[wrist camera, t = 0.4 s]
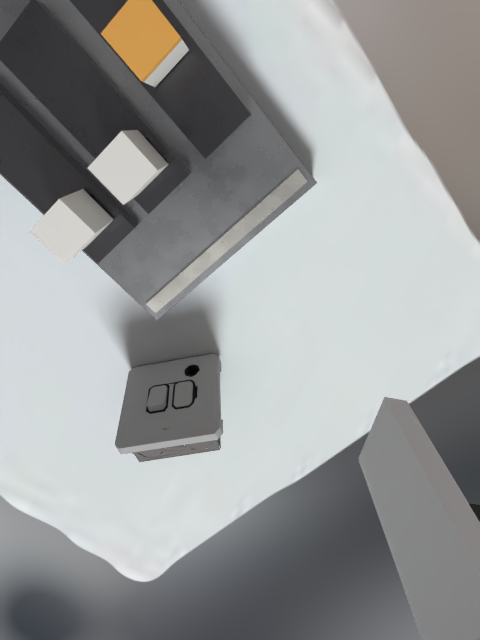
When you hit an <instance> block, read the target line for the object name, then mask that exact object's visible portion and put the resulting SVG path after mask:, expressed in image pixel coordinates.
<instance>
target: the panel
mask: <svg viewBox="0 0 480 640" xmlns="http://www.w3.org/2000/svg"><path fill="white" fill-rule="evenodd" d="M127 1H128V0H0V174H1V175H2V176H3V177H4V178H5V179H6V180H7V181H8V182H9V183H10V184H11V185H12V186H13V187H14V188H16V189H17V190H18V191H19V192H20V193H21V194H22V195H23V196H24V197H25V198H26V199H27V200H28V201H29V202H31V203H32V204H33V205H34V206H35V207H36V208H37V209H38V210H39V211H40V212H41V213H42V214H43V215H45V214H46V212H47V211H48V210H49V209H50V208H51V207H52V206H53V205H54V204H55V203H56V202H57V201H58V199H60V198H62V197H64V196H67V195H69V194H72V193H74V192H77V191H79V190H81V189H84V190H85V191H86V192H87V193H88V194H89V195H90V196H91V197H92V198H93V199H94V200H95V201H96V202H97V203H98V204H99V205H100V206H101V207H102V208H103V209H104V210H105V211H106V212H107V213H108V214H109V215H110V216H111V217H112V218H113V219H114V220H113V221H112V222H111V223H110V224H109V225H108V226H107V227H106V228H105V229H104V230H103V231H102V232H101V233H100V234H99V235H98V236H97V237H96V238H95V239H94V240H93V241H92V242H91V243H90V244H89V245H88V246H87V247H86V248H84V249H83V250H82V251H83V252H84V253H85V254H86V255H87V256H89V257H90V258H91V259H92V260H93V261H94V262H95V263H96V264H97V265H98V266H99V267H100V268H101V269H103V270H104V271H105V272H106V273H107V274H108V275H109V276H110V277H111V278H112V279H113V280H114V281H115V282H116V283H118V284H119V285H120V286H121V287H122V288H123V289H124V290H125V291H126V292H127V293H128V294H129V295H130V296H131V297H133V298H134V299H135V300H136V301H137V302H138V303H139V304H140V305H141V306H142V307H143V308H144V309H145V310H147V311H148V312H149V313H150V314H151V315H152V316H153V317H154V318H155V319H156V320H158V319H159V318H160V317H161V316H163V315H164V314H165V313H166V312H167V311H168V310H170V309H171V308H172V307H173V306H174V305H175V304H177V303H178V302H179V301H180V300H181V299H182V298H184V297H185V296H186V295H187V294H188V293H189V292H191V291H192V290H193V289H194V288H195V287H196V286H197V285H199V284H200V283H201V282H202V281H203V280H204V279H206V278H207V277H208V276H209V275H210V274H211V273H213V272H214V271H215V270H216V269H217V268H218V267H220V266H221V265H222V264H223V263H224V262H225V261H227V260H228V259H229V258H230V257H231V256H232V255H234V254H235V253H236V252H237V251H238V250H239V249H241V248H242V247H243V246H244V245H245V244H246V243H248V242H249V241H250V240H251V239H252V238H253V237H255V236H256V235H257V234H258V233H259V232H260V231H262V230H263V229H264V228H265V227H266V226H267V225H268V224H270V223H271V222H272V221H273V220H274V219H275V218H277V217H278V216H279V215H280V214H281V213H282V212H284V211H285V210H286V209H287V208H288V207H289V206H291V205H292V204H293V203H294V202H295V201H296V200H298V199H299V198H300V197H301V196H302V195H303V194H305V193H306V192H307V191H308V190H309V189H310V188H312V187H313V186H314V185H315V184H316V183H317V182H316V181H315V180H314V178H313V177H312V176H311V174H310V173H309V172H308V170H307V169H306V168H305V166H304V165H303V164H302V162H301V161H300V160H299V159H298V157H297V156H296V155H295V153H294V152H293V151H292V149H291V148H290V147H289V145H288V144H287V143H286V141H285V140H284V139H283V137H282V136H281V135H280V134H279V132H278V131H277V130H276V128H275V127H274V126H273V124H272V123H271V122H270V120H269V119H268V118H267V116H266V115H265V114H264V112H263V111H262V110H261V109H260V107H259V106H258V105H257V103H256V102H255V101H254V99H253V98H252V97H251V95H250V94H249V93H248V91H247V90H246V89H245V88H244V86H243V85H242V84H241V82H240V81H239V80H238V78H237V77H236V76H235V74H234V73H233V72H232V70H231V69H230V68H229V66H228V65H227V64H226V63H225V61H224V60H223V59H222V57H221V56H220V55H219V53H218V52H217V51H216V49H215V48H214V47H213V45H212V44H211V43H210V42H209V40H208V39H207V38H206V36H205V35H204V34H203V32H202V31H201V30H200V28H199V27H198V26H197V24H196V23H195V22H194V20H193V19H192V18H191V17H190V15H189V14H188V13H187V11H186V10H185V9H184V7H183V6H182V5H181V3H180V2H179V1H178V0H152V1H153V2H154V4H155V5H156V6H157V7H158V9H159V10H160V11H161V13H162V14H163V15H164V16H165V18H166V19H167V20H168V21H169V23H170V24H171V25H172V27H173V28H174V29H175V30H176V32H177V33H178V34H179V36H180V37H181V38H182V40H183V41H184V43H185V44H186V46H187V47H188V49H189V51H188V52H187V53H186V54H185V55H184V56H183V57H182V58H181V60H180V61H179V62H178V63H177V64H176V65H175V66H174V67H173V68H172V69H171V71H170V72H169V73H168V74H167V75H166V76H165V77H164V78H163V79H162V80H161V81H160V83H159V84H158V85H157V86H156V87H153V86H151V85H149V84H147V83H144V82H142V81H141V80H140V79H139V78H138V77H137V76H136V75H135V73H134V72H133V71H132V70H131V69H130V68H129V66H128V65H127V64H126V63H125V62H124V60H123V59H122V58H121V57H120V56H119V55H118V53H117V52H116V51H115V50H114V49H113V48H112V46H111V45H110V44H109V43H108V42H107V40H106V39H105V38H104V37H103V36H102V35H101V33H102V31H103V30H104V29H105V28H106V26H107V25H108V24H109V23H110V22H111V20H112V19H113V18H114V17H115V16H116V14H117V13H118V12H119V11H120V9H121V8H122V7H123V6H124V5H125V3H126V2H127ZM128 130H138V131H139V132H140V133H141V134H142V135H143V136H144V137H145V138H146V140H147V141H148V142H149V143H150V144H151V145H152V146H153V147H154V149H155V150H156V151H157V152H158V153H159V154H160V155H161V156H162V157H163V159H164V160H165V161H166V162H167V163H168V164H169V165H168V166H167V167H166V168H165V169H164V170H163V171H162V172H161V173H160V174H159V175H158V176H157V177H156V178H155V179H154V180H153V181H152V182H151V183H150V184H149V185H148V186H147V187H146V188H145V189H144V190H143V191H142V192H141V193H140V194H139V195H137V196H136V197H134V198H133V199H131V200H130V201H129V202H127V203H126V204H124V205H123V204H122V203H121V202H120V201H119V200H118V199H117V198H116V197H115V196H114V195H113V194H112V193H111V192H110V191H109V190H108V189H107V188H106V187H105V186H104V185H103V184H102V183H101V182H100V181H99V180H98V179H97V178H96V177H95V175H94V174H93V173H92V172H91V171H90V170H89V169H88V167H89V166H90V165H91V163H92V162H93V161H94V160H95V159H96V158H97V157H98V156H99V155H100V154H101V153H102V152H103V150H104V149H105V148H106V147H107V146H108V145H109V144H110V143H111V142H112V141H113V140H114V138H115V137H116V136H117V135H118V134H119V133H120V132H121V131H128Z"/></svg>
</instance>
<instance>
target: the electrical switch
mask: <svg viewBox="0 0 480 640" xmlns="http://www.w3.org/2000/svg"><path fill="white" fill-rule="evenodd" d="M220 371H221V362H220V359H219V357H218V356H217V355H216V354H208V355H202V356H196V357H190V358H185V359H179V360H173V361H167V362H162V363H156V364H150V365H144V366H138V367H134V368H133V369H132V370H130V371H129V374H128V380H127V385H126V390H125V395H124V400H123V405H122V411H121V416H120V421H119V426H118V431H117V436H116V441H115V445H116V447H117V449H118V451H119V452H120V454H127V453H133V454H134V455H135V456H136V457H137V459H138V460H139V462H143V461H150V460H156V459H163V458H169V457H176V456H182V455H189V454H195V453H202V452H208V451H215V450H220V448H221V446H220V436H221V435H222V434H223V420H221V401H220ZM218 444H219V445H218ZM184 445H185V446H184ZM219 446H220V448H219ZM165 448H166V449H165ZM206 448H207V449H206Z"/></svg>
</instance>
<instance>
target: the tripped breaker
mask: <svg viewBox="0 0 480 640" xmlns="http://www.w3.org/2000/svg"><path fill="white" fill-rule="evenodd" d="M101 35H102V36H103V37H104V38H105V39H106V40H107V42H108V43H109V44H110V45H111V46H112V48H113V49H114V50H115V51H116V52H117V53H118V55H119V56H120V57H121V58H122V59H123V60H124V62H125V63H126V64H127V65H128V66H129V68H130V69H131V70H132V71H133V72H134V73H135V75H136V76H137V77H138V78H139V79H140V80H141V81H142V82H144V83H147V84H149V85H151V86H153V87H156V86H157V85H158V84H159V83H160V81H161V80H162V79H163V78H164V77H165V76H166V75H167V74H168V73H169V72H170V71H171V69H172V68H173V67H174V66H175V65H176V64H177V63H178V62H179V61H180V60H181V58H182V57H183V56H184V55H185V54H186V53H187V52H188V51H189V49H188V47H187V46H186V44H185V43H184V41H183V40H182V38H181V37H180V36H179V34H178V33H177V32H176V30H175V29H174V28H173V27H172V25H171V24H170V23H169V21H168V20H167V19H166V18H165V16H164V15H163V14H162V13H161V11H160V10H159V9H158V7H157V6H156V5H155V4H154V2H153V1H152V0H128V1H127V2H126V3H125V5H124V6H123V7H122V8H121V9H120V11H119V12H118V13H117V14H116V16H115V17H114V18H113V19H112V20H111V22H110V23H109V24H108V25H107V26H106V28H105V29H104V30H103V31H102V33H101Z"/></svg>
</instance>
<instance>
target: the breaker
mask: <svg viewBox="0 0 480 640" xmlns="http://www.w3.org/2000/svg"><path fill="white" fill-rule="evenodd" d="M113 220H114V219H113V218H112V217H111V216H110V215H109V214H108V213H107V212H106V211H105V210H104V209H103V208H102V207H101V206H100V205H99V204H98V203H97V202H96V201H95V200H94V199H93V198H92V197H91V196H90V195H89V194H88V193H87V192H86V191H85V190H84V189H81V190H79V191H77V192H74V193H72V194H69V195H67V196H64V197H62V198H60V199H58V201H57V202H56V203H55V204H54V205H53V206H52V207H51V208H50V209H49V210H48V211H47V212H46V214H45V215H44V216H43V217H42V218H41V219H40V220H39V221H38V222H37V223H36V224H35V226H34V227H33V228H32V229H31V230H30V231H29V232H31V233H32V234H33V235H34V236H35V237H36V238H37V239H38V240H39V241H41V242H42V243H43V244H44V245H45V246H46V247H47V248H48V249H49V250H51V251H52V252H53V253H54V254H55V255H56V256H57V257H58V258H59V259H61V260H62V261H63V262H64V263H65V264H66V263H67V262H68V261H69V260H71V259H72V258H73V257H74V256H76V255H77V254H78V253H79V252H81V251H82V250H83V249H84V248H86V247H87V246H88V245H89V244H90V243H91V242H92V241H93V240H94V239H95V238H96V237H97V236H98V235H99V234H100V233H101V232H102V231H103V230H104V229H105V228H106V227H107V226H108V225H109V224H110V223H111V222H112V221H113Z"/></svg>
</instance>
